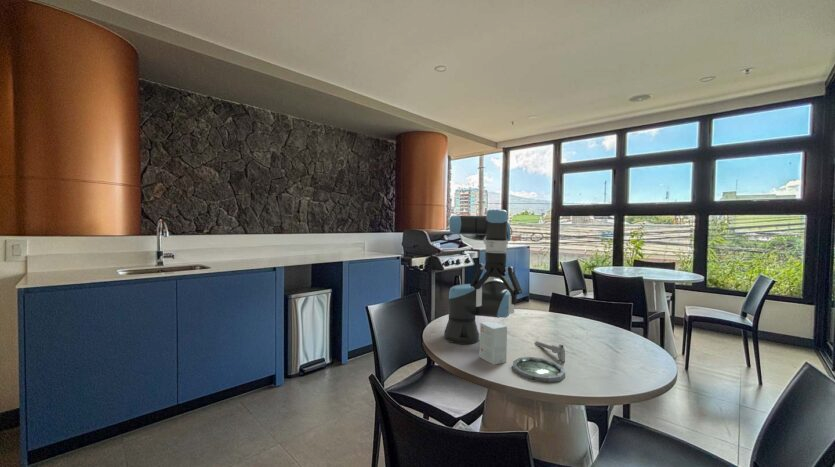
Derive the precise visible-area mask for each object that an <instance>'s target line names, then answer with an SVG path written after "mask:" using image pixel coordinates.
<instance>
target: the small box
mask: <svg viewBox="0 0 835 467" xmlns="http://www.w3.org/2000/svg"><path fill="white" fill-rule="evenodd" d="M479 326H480V328H479V329H480V330H479V358H480V359H483V360H484V361H486V362H488V363H489V364H491V365H498V364H503V363H507V352H508V350H507V349H508V348H507V346H508V345H507V344H508V342H507V341H508V326H506V325H504V324H501V323H498V322H496V321H483V322H480V325H479Z"/></svg>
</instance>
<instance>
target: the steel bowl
mask: <svg viewBox="0 0 835 467" xmlns="http://www.w3.org/2000/svg"><path fill="white" fill-rule="evenodd" d="M512 368H513V372H514V373H515V374H517V375H518V376H520V377H521V378H524V379H527V380H530V381H533V382H539V383H547V384H548V383H557V382H561V381H562V380H563V379H565V378H566V371H565V368H564V366H562V365H561V364H559V363H557V362H555V361H553V360H549V359H546V358H542V357H535V356H534V357H533V356H527V357H526V356H525V357H524V356H523V357H519V358H516V359H515V360H513V361H512Z"/></svg>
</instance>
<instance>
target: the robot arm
mask: <svg viewBox="0 0 835 467" xmlns="http://www.w3.org/2000/svg"><path fill="white" fill-rule="evenodd" d="M508 217H509V216H508V211H507V210H505V209H487V211H486V214H485V215H459V214H457V215H451V216H449V222H448V224H449V225H448V226H449V227H448V229H449V233H450V234H453V235H461V236H462V237H464V238H466V239H469V240H474V241H483V244H484V245H485V251H486V252H485V256H484V258H485V259H484V260H485V263H483V262H481V263H480V262H479V263H478V264H477V270H476V272H475V273H474V276H473V278H472V280H471V282H470V283H464V284H462V283H461V284H456V285H453V286H452V287H450V289H449V291H448V292H449V293H448V294H449V295H448V321H447V323H446V327H445V329H444V333H443V334H444V335H443V337H444V339H445V340H446V341H448V342H450V343H454V344H459V345H468V344H470V345H471V344H474V343H477V342H480V332H479V330H478V326H477V323H476V317H487V318H488V317H489V318H497V319H499V318H504V319H505V318H508V317H509V316H510V315H512V314H514V313H515V305H516V304H517V303H518V302H517V299H518V295H521V294H523V290H522V288H521V285H520V283H519V281H518V278H517V276H516V272H515V267H514V266H507V251H508V250H507V249H508V247H507V246H508V242H510V240H511V225H510V222H509V220H508ZM484 270H485V272H484ZM483 272H484V273H483ZM482 274H483V275H482Z"/></svg>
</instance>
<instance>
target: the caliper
mask: <svg viewBox="0 0 835 467" xmlns="http://www.w3.org/2000/svg"><path fill="white" fill-rule="evenodd" d="M533 344H535V345H537V346H538V347H541V348H545V349H548V350H551V352H552V353H553V354H556V355H557V359H558V361H560V362H561V363H566V350H565V348H564V344H558V345H554V344H553V345H552V344H547V343H546V342H542V341H539V340H536V341H535V342H534V343H533Z"/></svg>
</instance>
